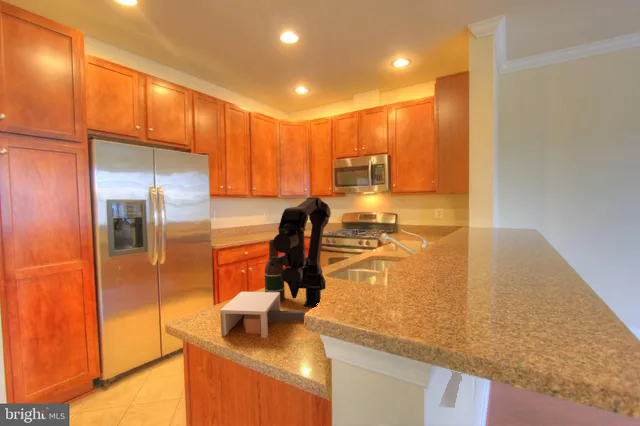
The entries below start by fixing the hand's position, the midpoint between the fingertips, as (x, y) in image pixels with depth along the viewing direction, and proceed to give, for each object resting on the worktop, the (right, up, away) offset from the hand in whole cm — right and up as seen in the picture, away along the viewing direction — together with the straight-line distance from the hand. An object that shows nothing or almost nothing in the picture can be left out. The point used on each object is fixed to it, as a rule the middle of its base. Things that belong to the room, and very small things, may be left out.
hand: (297, 293), depth 95 cm
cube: (-13, -10, -5) cm, 17 cm away
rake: (-7, -10, -1) cm, 12 cm away
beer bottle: (-10, -8, +20) cm, 24 cm away
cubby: (-14, -10, -2) cm, 17 cm away
